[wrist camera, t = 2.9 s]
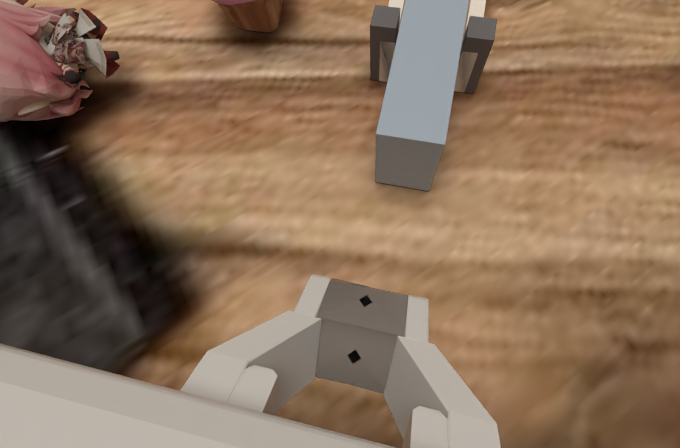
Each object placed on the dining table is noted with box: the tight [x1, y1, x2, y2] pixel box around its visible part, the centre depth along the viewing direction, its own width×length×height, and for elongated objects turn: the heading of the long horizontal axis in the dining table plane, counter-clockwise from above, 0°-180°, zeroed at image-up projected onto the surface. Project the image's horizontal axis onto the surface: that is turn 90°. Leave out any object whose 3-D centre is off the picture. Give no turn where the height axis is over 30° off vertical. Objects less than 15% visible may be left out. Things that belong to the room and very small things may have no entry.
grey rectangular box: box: [375, 0, 469, 191], centre depth 32 cm, size 12×4×8 cm, turn 167°
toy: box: [0, 0, 120, 122], centre depth 35 cm, size 12×11×15 cm
